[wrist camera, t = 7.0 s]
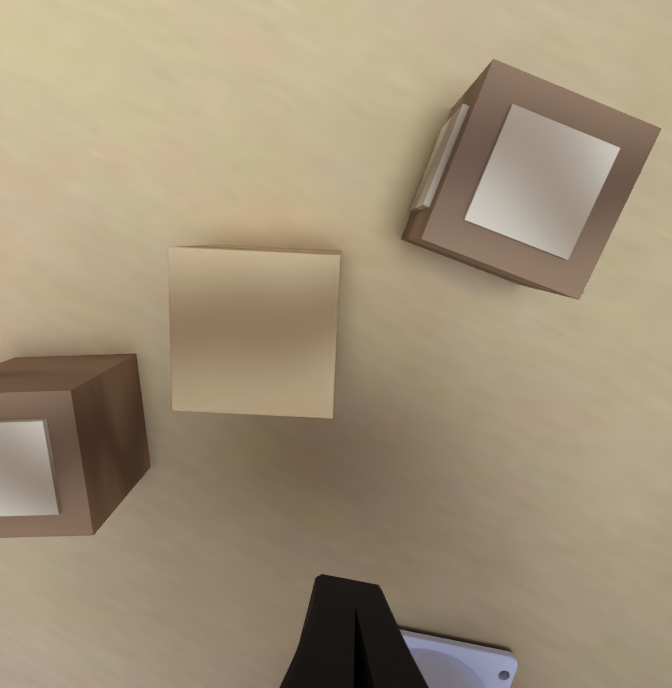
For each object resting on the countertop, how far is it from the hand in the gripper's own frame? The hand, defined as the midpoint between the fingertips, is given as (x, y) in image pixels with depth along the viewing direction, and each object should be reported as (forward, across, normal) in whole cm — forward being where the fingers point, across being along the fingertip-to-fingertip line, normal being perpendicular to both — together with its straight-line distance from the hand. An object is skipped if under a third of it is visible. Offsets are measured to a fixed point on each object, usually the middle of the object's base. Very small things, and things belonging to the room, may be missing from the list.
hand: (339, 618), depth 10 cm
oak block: (+11, +4, -4) cm, 12 cm away
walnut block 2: (+11, -4, -10) cm, 15 cm away
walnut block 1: (+11, +10, +2) cm, 15 cm away
